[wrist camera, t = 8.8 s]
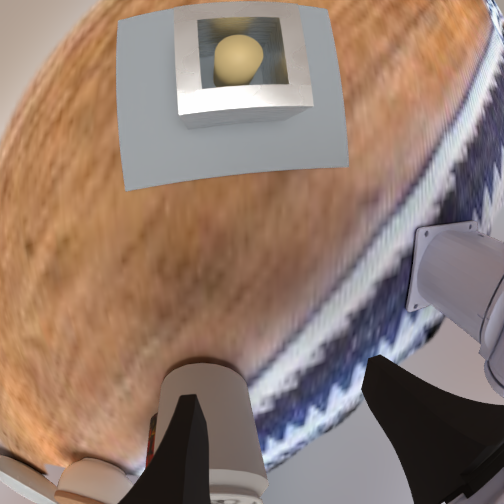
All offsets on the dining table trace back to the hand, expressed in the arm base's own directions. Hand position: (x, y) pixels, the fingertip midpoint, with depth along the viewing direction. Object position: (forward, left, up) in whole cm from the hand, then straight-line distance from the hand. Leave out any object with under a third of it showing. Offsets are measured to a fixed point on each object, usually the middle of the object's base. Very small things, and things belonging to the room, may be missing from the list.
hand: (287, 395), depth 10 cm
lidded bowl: (+25, +28, -10) cm, 39 cm away
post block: (0, -14, -10) cm, 17 cm away
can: (+5, +9, -10) cm, 14 cm away
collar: (0, -14, -9) cm, 16 cm away
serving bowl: (+53, +41, -10) cm, 68 cm away
